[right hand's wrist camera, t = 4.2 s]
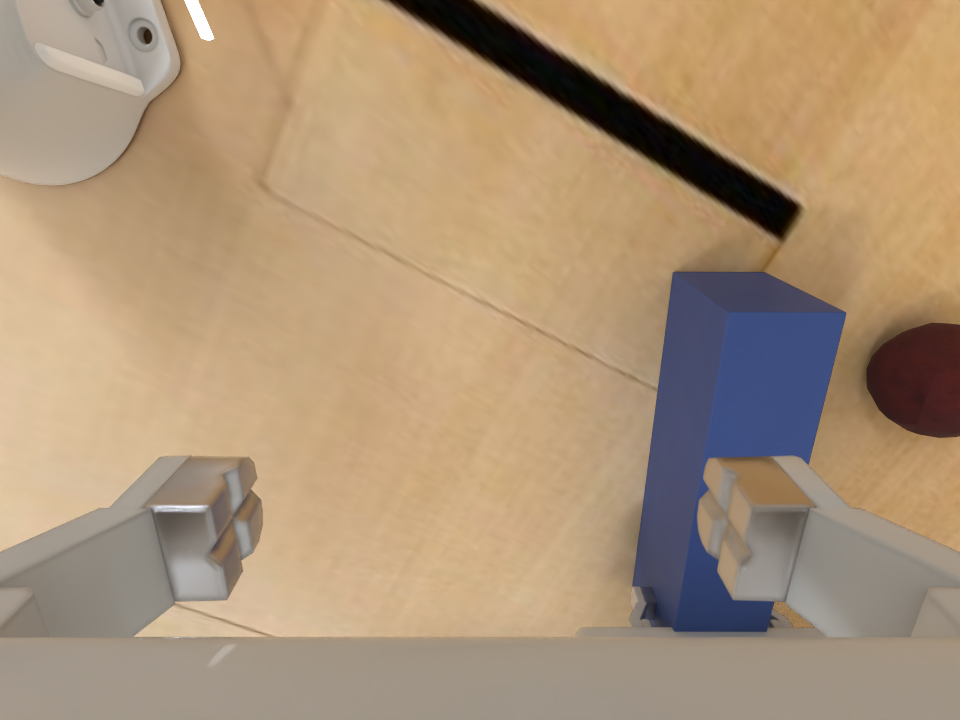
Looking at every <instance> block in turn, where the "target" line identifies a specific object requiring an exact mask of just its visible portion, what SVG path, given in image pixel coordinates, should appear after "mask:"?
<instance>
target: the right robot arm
mask: <svg viewBox="0 0 960 720" xmlns="http://www.w3.org/2000/svg"><path fill="white" fill-rule="evenodd" d="M185 2H186V4H187V7H188V9H189V11H190V13H191V16H192V18H193V20H194V23H195V25H196V27H197V29H198V32H199V34H200V36H201V38H203V39H206V40H212V39H214V37H213V35H212V32H211V30H210V28H209V26H208V23H207V21H206V19H205V16H204V14H203V12H202V10H201V7H200V5H199V3H198V0H185ZM147 29H149V30H150V32H151V33H152V41H151V42H150V43H149V44H147V43H146V42H145V40H144V32H145V31H146V30H147ZM180 66H181V62H180V56H179V52H178V49H177V46H176V43H175V40H174V38H173V35H172V32H171V29H170V26H169V23H168V20H167V17H166V14H165V11H164V9H163V6H162V3H161V0H0V176H5V177H8V178H12V179H15V180H18V181H22V182H26V183H31V184H37V185H50V186H53V185H66V184H72V183H77V182H80V181H83V180H86V179H89V178H91V177H93V176H95V175H97V174H99V173H100V172H102V171H104V170H105V169H106V168H108V167H109V166H110V165H112V164H113V163H114V162H115V161H116V160H117V159H118V158H119V157H120V156H121V154H122V153H123V152H124V151H125V149H126V148H127V146H128V145H129V143H130V142H131V140H132V138H133V136H134V134H135V132H136V129H137V127H138V124H139V122H140V120H141V117H142V115H143V113H144V111H145V109H146V107H147V105H148V104H149V102H150V101H152V100H153V99H154V98H156V97H157V96H158V95H159V94H160V93H162V92H163V91H164V90H165V89H166V88H167V87H168V86H169V85H170V84H171V83H172V82H173V81H174V80H175V79H176V77H177V76H178V74H179V71H180ZM256 480H257V475H256V470H255V465H254V462H253V461H252V460H251V459H250V458H249V457H221V456H165V457H160V458H159V459H158V460H157V461H156V462H155V463H154V464H153V465H152V466H151V467H150V468H149V469H148V470H147V471H146V472H145V473H144V474H143V475H142V476H141V477H140V478H139V479H138V480H137V481H136V482H134V483H133V484H132V485H131V486H130V487H129V488H128V489H127V490H126V491H125V492H124V493H123V494H122V495H121V496H120V497H119V498H118V499H117V500H116V501H115V502H114V503H113V504H112V505H111V506H110V507H109V508H99V509H97V510H94V511H92V512H90V513H87V514H85V515H83V516H81V517H78V518H76V519H74V520H72V521H69V522H67V523H65V524H63V525H60V526H58V527H56V528H53V529H51V530H49V531H47V532H44V533H42V534H40V535H38V536H35V537H33V538H31V539H29V540H26V541H24V542H22V543H19V544H17V545H15V546H13V547H10V548H8V549H6V550H4V551H1V552H0V720H960V552H958V551H956V550H954V549H952V548H949V547H947V546H945V545H943V544H940V543H938V542H936V541H934V540H931V539H929V538H927V537H924V536H922V535H920V534H918V533H915V532H913V531H911V530H909V529H906V528H904V527H902V526H900V525H897V524H895V523H893V522H891V521H888V520H886V519H884V518H882V517H879V516H877V515H875V514H873V513H870V512H868V511H866V510H863V509H861V508H851V507H850V506H849V505H848V504H847V503H846V502H845V501H844V500H843V499H842V498H841V497H840V496H839V495H838V494H837V493H836V492H835V491H834V490H833V489H832V488H831V487H830V486H829V485H828V484H827V483H826V482H825V481H824V480H823V479H822V478H821V477H820V476H819V475H818V474H817V473H816V472H815V471H814V470H813V469H812V468H811V467H810V466H809V465H808V464H807V463H806V462H805V461H804V460H803V459H802V458H800V457H797V456H794V455H789V456H761V457H721V458H709V459H708V461H707V463H706V465H705V469H704V474H703V480H704V481H705V483H706V484H707V486H708V488H709V490H708V491H707V492H706V493H705V494H704V495H703V496H702V497H701V498H700V499H699V505H698V512H697V521H698V531H699V535H700V538H701V541H702V544H703V546H704V548H705V549H706V551H707V553H709V554H710V555H712V556H713V557H715V558H716V559H718V560H719V563H718V569H717V572H718V574H719V575H720V577H721V579H722V581H723V583H724V584H725V586H726V588H727V590H728V592H729V593H730V595H731V597H732V599H733V600H746V601H782V602H786V603H785V604H786V605H787V606H789V607H790V608H791V609H792V610H794V611H795V612H796V613H798V614H799V615H800V616H801V617H803V618H804V619H805V620H806V621H808V622H809V623H810V624H812V625H813V626H814V627H815V628H817V629H818V630H819V631H821V632H822V633H823V634H824V635H826V636H827V637H133V636H135V635H136V634H137V633H138V632H140V631H141V630H142V629H144V628H145V627H146V626H147V625H149V624H150V623H151V622H152V621H154V620H155V619H156V618H158V617H159V616H160V615H161V614H163V613H164V612H165V611H167V610H168V609H169V608H170V607H172V606H173V605H174V604H175V603H174V602H178V601H213V600H227V599H228V597H229V595H230V594H231V592H232V590H233V588H234V586H235V585H236V583H237V581H238V579H239V577H240V575H241V574H242V572H243V568H242V563H241V560H242V559H244V558H245V557H247V556H248V555H250V554H252V553H253V551H254V549H255V548H256V546H257V544H258V542H259V538H260V534H261V530H262V525H263V510H262V504H261V499H260V498H259V497H258V496H257V495H256V494H255V493H254V492H253V491H252V490H251V488H252V486H253V484H254V483H255V481H256Z"/></svg>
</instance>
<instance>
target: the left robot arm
mask: <svg viewBox="0 0 960 720" xmlns="http://www.w3.org/2000/svg"><path fill="white" fill-rule="evenodd" d="M631 607H632V610H633V611H632V613H631V615H630V618H629V623H628V627H582V628H580V629H579V630H578V631H577V633H576V634H575V635H574V637H827V636H826V635H824V634H823V633H822V632H821V631H819V630H818V629H817V628H794V627H793V625H792V624H791V622H790V620H789V619H788V618H786V617H785V616H783V615H782V614H780V613H779V612H777V611H776V610H774V609H772V613H771V617H770V621H769V625H768V629H767V632H675V631H674V630H673V629H672V627H651V624H650V621H649V620H655V613H656V612H655V610H656V607H657V600H656V597H655V594H653V589H652V587H632V591H631Z"/></svg>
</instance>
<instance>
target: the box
mask: <svg viewBox="0 0 960 720" xmlns="http://www.w3.org/2000/svg"><path fill="white" fill-rule="evenodd" d="M845 317H846V312H844V311H842V310H840V309H838V308H836V307H834V306H832V305H830V304H828V303H826V302H824V301H822V300H820V299H818V298H816V297H814V296H812V295H810V294H808V293H806V292H803V291H801V290H799V289H797V288H795V287H793V286H791V285H789V284H787V283H785V282H783V281H781V280H779V279H777V278H775V277H773V276H771V275H769V274H767V273H765V272H673V277H672V285H671V292H670V300H669V308H668V316H667V323H666V331H665V339H664V347H663V354H662V362H661V370H660V378H659V385H658V393H657V401H656V408H655V416H654V424H653V432H652V439H651V447H650V455H649V463H648V470H647V478H646V486H645V493H644V501H643V509H642V517H641V524H640V532H639V540H638V548H637V555H636V563H635V571H634V578H633V586H632V587H652V589H653V594H655V597H656V600H657V607H656V610H655V612H656V613H655V620H649V621H650V624H651V627H672V629H673V630H674V631H675V632H767V629H768V625H769V621H770V617H771V613H772V609H773V605H774V601H746V600H733V599H732V597H731V595H730V593H729V592H728V590H727V588H726V586H725V584H724V583H723V581H722V579H721V577H720V575H719V574H718V572H717V569H718V563H719V560H718V559H716V558H715V557H713V556H712V555H710V554H709V553H707V551H706V549H705V548H704V546H703V544H702V541H701V538H700V535H699V531H698V521H697V512H698V505H699V499H700V498H701V497H702V496H703V495H704V494H705V493H706V492H707V491H708V490H709V488H708V486H707V484H706V483H705V481H704V480H703V474H704V469H705V465H706V463H707V461H708V459H709V458H721V457H761V456H789V455H794V456H797V457H800V458H802V459H803V460H804V461H805V462H806V463H807V464H808V465H809V461H810V457H811V453H812V449H813V445H814V441H815V437H816V433H817V429H818V425H819V421H820V417H821V413H822V409H823V405H824V401H825V397H826V393H827V389H828V385H829V381H830V377H831V373H832V369H833V365H834V361H835V357H836V353H837V349H838V345H839V341H840V337H841V333H842V329H843V325H844V321H845Z"/></svg>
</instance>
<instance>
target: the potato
mask: <svg viewBox="0 0 960 720" xmlns="http://www.w3.org/2000/svg"><path fill="white" fill-rule="evenodd" d="M867 389H868V390H869V392H870V394H871V396H872V398H873V399H874V401H875V403H876V405H877V407H878V409H879V410H880V411H881V412H882V413H883V414H884V415H885V416H886V417H887V418H888V419H890V420H892V421H893V422H895V423H896V424H898V425H900V426H901V427H903V428H905V429H906V430H908V431H911V432H914V433H917V434H921V435H926V436H932V437H937V438H944V437H958V436H960V325H956V324H944V323H930V324H927V325H923V326H920V327H917V328H913V329H910V330H908V331H905V332H903V333H901V334H899V335H897V336H896V337H894V338H893V339H891V340H889V341H888V342H886V343H885V344H883V345H882V347H881V348H880V349H879V350H878V351H877V352H876V353H875V354H874V355H873V356H872V359H871V361H870V363H869V365H868V368H867Z"/></svg>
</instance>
